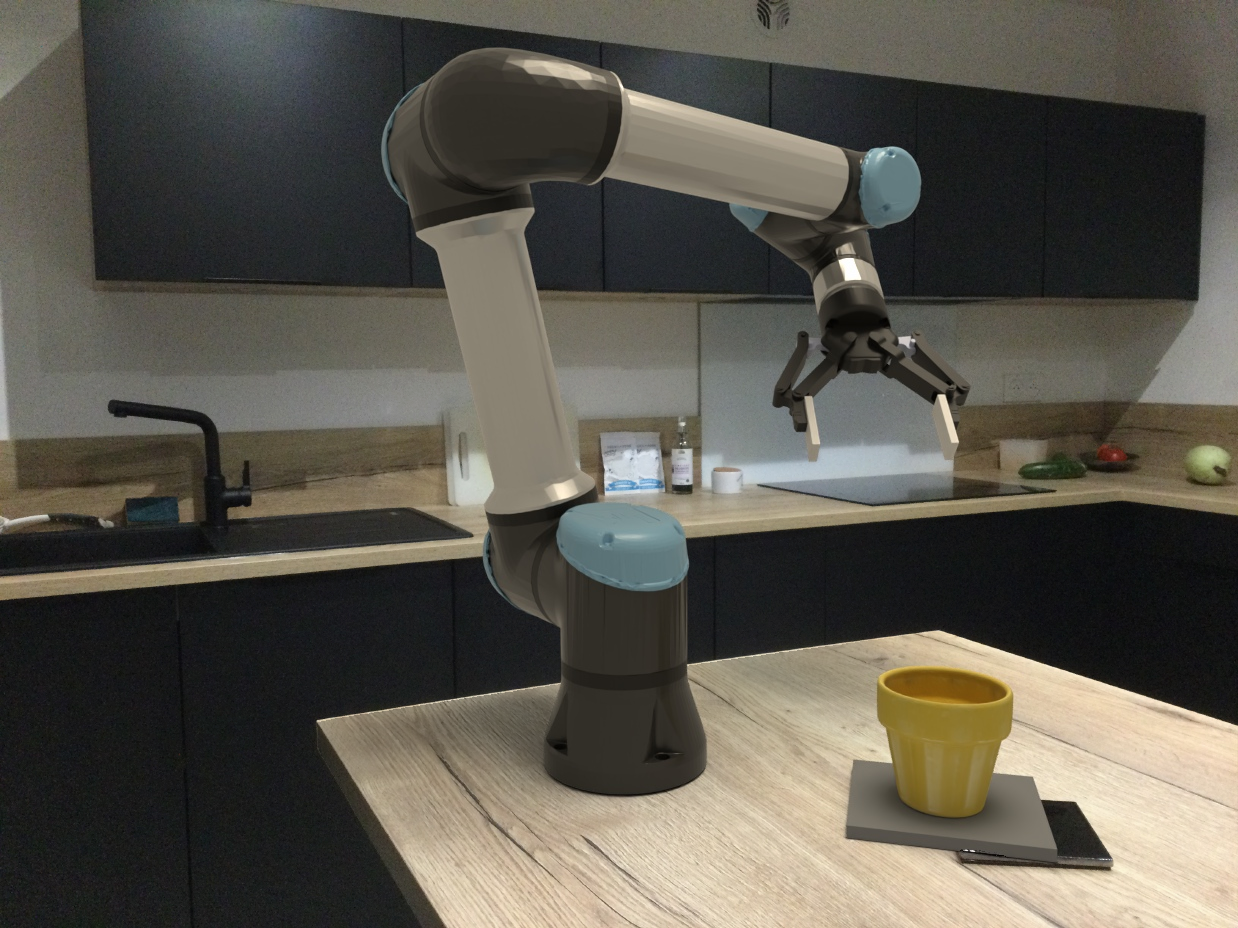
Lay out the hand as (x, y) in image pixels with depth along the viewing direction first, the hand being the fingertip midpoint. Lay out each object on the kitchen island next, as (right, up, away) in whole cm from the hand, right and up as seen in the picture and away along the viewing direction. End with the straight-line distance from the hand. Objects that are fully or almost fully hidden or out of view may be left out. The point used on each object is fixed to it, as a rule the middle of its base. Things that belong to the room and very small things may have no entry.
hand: (883, 452), depth 96 cm
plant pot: (0, -29, -17) cm, 33 cm away
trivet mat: (0, -29, -17) cm, 34 cm away
